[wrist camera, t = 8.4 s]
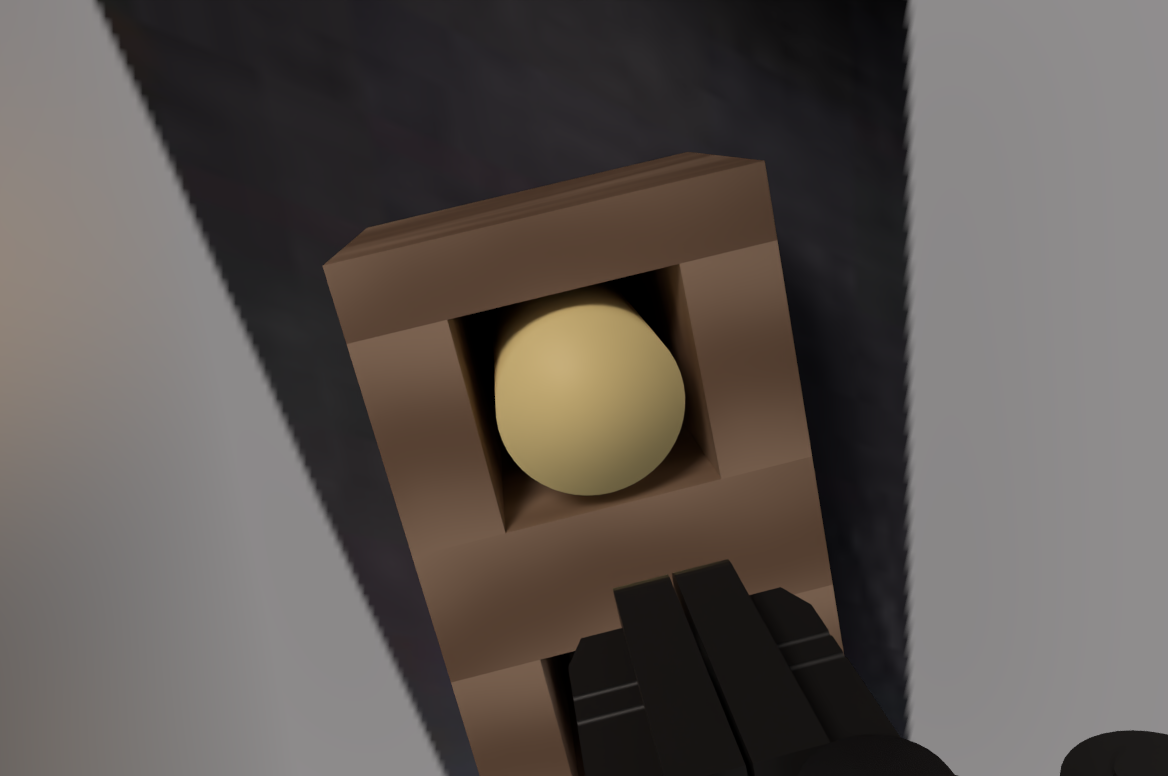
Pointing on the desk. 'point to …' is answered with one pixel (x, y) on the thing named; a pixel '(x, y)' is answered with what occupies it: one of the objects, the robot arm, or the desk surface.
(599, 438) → the mustard peg
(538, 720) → the socket block
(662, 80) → the desk surface
